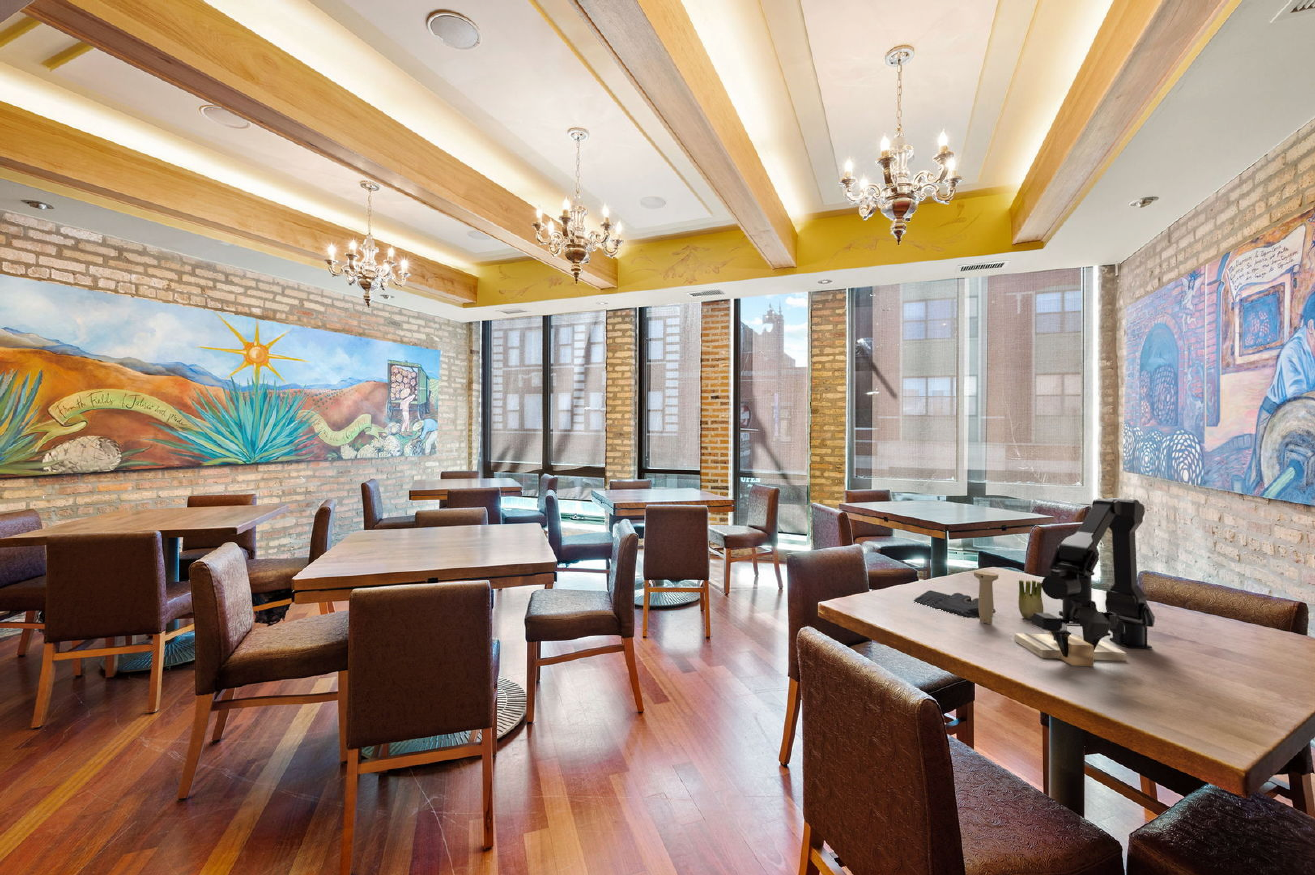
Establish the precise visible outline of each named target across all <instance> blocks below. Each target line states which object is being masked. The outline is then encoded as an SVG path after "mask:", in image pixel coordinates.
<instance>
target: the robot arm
mask: <svg viewBox="0 0 1315 875" xmlns="http://www.w3.org/2000/svg"><path fill="white" fill-rule="evenodd" d="M1145 512H1146V509H1145V505H1144V504H1143V503H1141V502H1140V501H1139V500H1138V499H1131V498H1118V497H1117V498H1116V497H1107V498H1095V499H1093V500H1092V505H1091V509H1090V510H1089V512H1088V513H1087V515H1086V516H1085V518H1084V520H1083V522H1082V523H1081V524H1080V526H1079V527H1078V530H1077V531H1076V532H1075V533H1074V534H1071V535H1069V536H1067V537H1065V538H1064V539H1063V541H1062V542H1061V543H1059V545H1058V546H1057V548H1056V550H1055V553H1054V554H1053V557H1052V561H1051V563H1050V566H1049V569H1050V574H1049V575H1046V576H1045V577H1044V578H1043V579H1042V580H1041V581H1042V582H1041V583H1042V584H1041V585H1042V591H1043V593H1044V594H1045V595H1046V596H1047V597H1048V598H1051V599H1053V600H1061V601H1062V610H1059V611H1058V616H1059V617H1057V616H1055V615H1052V614H1051V613H1050V612H1049V613H1048V612H1043V613H1034V614H1033V615H1032V616H1031V620H1030V622H1031V624H1032V625H1034V626H1036V627H1038V628H1039V629H1042V630H1044V631H1047V632H1049V631H1051V633H1052V635H1053V636H1054V638H1055V640H1056V642H1057V644H1058V646H1059V648H1060V650H1061V652H1062V654H1063V656H1064V657H1066V658H1067V657H1068V637H1069V636H1070V635H1072V632H1070V631H1069V630H1068V627H1081V629H1082V636H1083V640H1084V641H1086V642H1088V643H1090V644H1092V645H1094V650H1095V648H1096V646H1097V644H1098V643H1099V641H1100V640H1101V641H1102V639H1103V638H1105V637H1107V636H1111V633H1112V637H1109V640H1110V641H1112V642H1113V643H1116V644H1119V645H1121V646H1122V647H1125V648H1127V649H1128V648H1129V649H1149V648H1150V649H1153V646H1152V645H1149V644H1148V627H1150V628H1153V627H1154V626H1155V625H1154V624H1155V620H1156V617H1155V615H1154V613H1153V611H1152V610H1151V607H1150V605H1149V604H1148V601H1147V596H1146V594H1145V592H1143V590H1142V589H1141V587H1140V586H1139V585H1138V568H1137V566H1138V565H1137V545H1136V542H1137V541H1136V531H1137V530H1138V529H1139V527H1140V526H1141V525H1142V523H1143V522H1144V521H1143V520H1144V516H1145V514H1146V513H1145ZM1108 529H1109V530H1110V531H1111V540H1112V541H1111V542H1112V563H1113V564H1112V567H1113V585H1112V586H1111V587H1110V588H1109V590H1106V593H1105V597H1106V598H1105V600H1104V601H1105V602H1104V604H1105V609H1106V611H1098V608H1097V604H1096V601H1094V600H1092V598H1093V597H1092V595H1093V594H1092V592H1093V591H1092V586H1093V585H1092V583H1093V582H1092V579H1093V578H1092V576H1095V572H1094V570H1095V568H1096V566H1097V564H1098V562H1099V559H1100V552H1099V549H1098V547H1099V546H1098V545H1099V543H1100V542H1101V540H1102V538H1103V537H1104V535H1105V533H1106V532H1107V531H1108ZM1109 631H1110V632H1109ZM1150 649H1149V650H1150Z"/></svg>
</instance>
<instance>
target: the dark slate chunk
mask: <svg viewBox="0 0 1315 875" xmlns="http://www.w3.org/2000/svg"><path fill="white" fill-rule="evenodd" d="M978 600H979V597H975V598H972V597H971V596H970V595H968V594H967V595H966V594H963V593H961V592H955V593H952V594H947V593H943V592H939V591H935V590H927V591H926V592H924V593H922V594H920V595H919V596H918V597H915V598H914V599H913V601H915V602H917V603H916V604H918V603H920V604H919V605H921V604H922V606H925V605H927V606H926V607H928V606H930V607H929V608H931V607H932V608H931V609H934V608H935V610H938V609H941V610H940V611H942V610H943V611H942V612H945V611H946V612H945V613H948V612H949V613H950V614H952V613H954V614H953V615H955V614H957V615H956V616H958V617H962V616H963V617H962V618H965V617H967V618H970V617H971V619H976V618H979V609H978V603H979V602H978ZM915 602H914V603H915ZM994 612H996V609H995V608H994V611H993V613H994ZM949 613H948V614H949ZM967 618H966V619H967Z"/></svg>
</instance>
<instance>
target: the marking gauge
mask: <svg viewBox="0 0 1315 875" xmlns="http://www.w3.org/2000/svg"><path fill="white" fill-rule="evenodd" d="M1048 634H1050V635H1051V636H1053V635H1052V633H1051V631H1048ZM1053 640H1054V641H1056V640H1055V638H1054V636H1053ZM1060 659H1061V660H1062V661H1064V662H1066V663H1068V664H1069V665H1071V666H1082V667H1083V666H1084V667H1087V666H1088V667H1094V661H1095V660H1094V645H1092V644H1090V643H1088V642H1086V641H1084V640H1077V639H1074V638H1072V637H1070V636H1069V637H1068V657H1067V658H1066V657H1064V656H1063V654H1062V652H1061V658H1060Z"/></svg>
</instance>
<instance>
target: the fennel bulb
mask: <svg viewBox="0 0 1315 875" xmlns="http://www.w3.org/2000/svg"><path fill="white" fill-rule="evenodd" d="M1041 584H1042V582H1041V581H1036V580H1026V581H1025V583H1024V580H1023V579H1020V580H1019V581H1018V588H1019V589H1018V609H1019V613H1020V615H1021V617H1023V618H1024V619H1026V620H1029V621H1031V616H1032V615H1033V614H1034V613H1044V605H1043V604H1044V603H1043V598H1042V591H1043V589H1042V585H1041Z"/></svg>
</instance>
